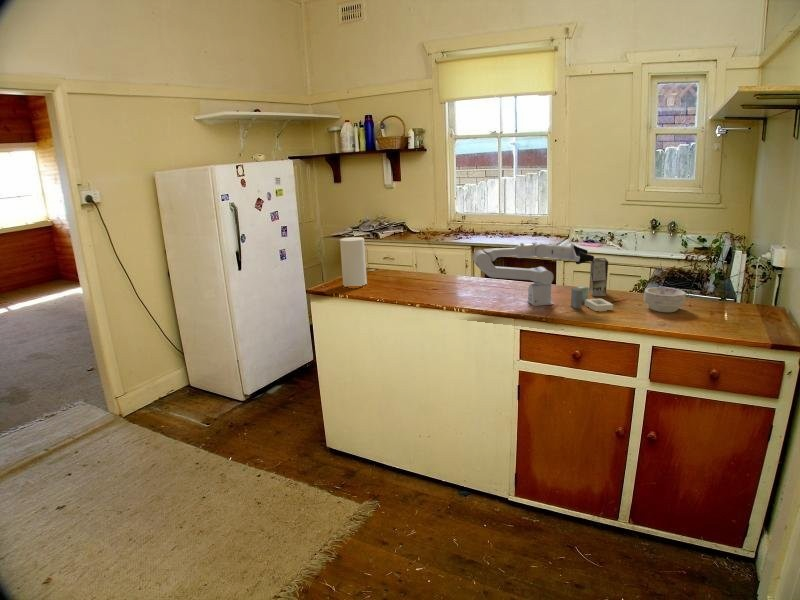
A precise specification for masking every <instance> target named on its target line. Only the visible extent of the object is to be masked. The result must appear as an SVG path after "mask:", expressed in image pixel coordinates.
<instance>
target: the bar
mask: <svg viewBox="0 0 800 600" xmlns="http://www.w3.org/2000/svg"><path fill="white" fill-rule="evenodd" d="M582 293H583V290H581V289H579V288H577V287H572V288H571V293H570V294H571V296H570V307H571V306H572V308H573V309H575V310H582V308H583V302H582Z"/></svg>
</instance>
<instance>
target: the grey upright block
mask: <svg viewBox="0 0 800 600" xmlns="http://www.w3.org/2000/svg"><path fill="white" fill-rule="evenodd" d="M576 288H579V289H581V290H583V293H582V303H585V300H587V299H588V295H589V294H588V293H589V287H587V286H582V285H580V286H577V287H576Z"/></svg>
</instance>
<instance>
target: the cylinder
mask: <svg viewBox="0 0 800 600" xmlns="http://www.w3.org/2000/svg"><path fill="white" fill-rule="evenodd" d="M339 245H340V246H339V247H340V259H341V272H342V273H341V274H342V285H344V286H362V285H365V284H367V285H368V283H367V281H368V279H367V265H366V248H365V238H364V237H362V236H361V237H360V236H359V237H358V236H353V237H351V236H350V237H349V236H348V237H343V238H340V239H339Z"/></svg>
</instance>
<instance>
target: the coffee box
mask: <svg viewBox="0 0 800 600" xmlns="http://www.w3.org/2000/svg"><path fill="white" fill-rule="evenodd" d="M589 269H590V270H589V287H588V293H590V295H591V296H592V297H606V296H607V285H608V284H607V283H608V273H609V272H608V271H609V261H608V260H607V259H606V257H594V259H593V261H590V268H589Z"/></svg>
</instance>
